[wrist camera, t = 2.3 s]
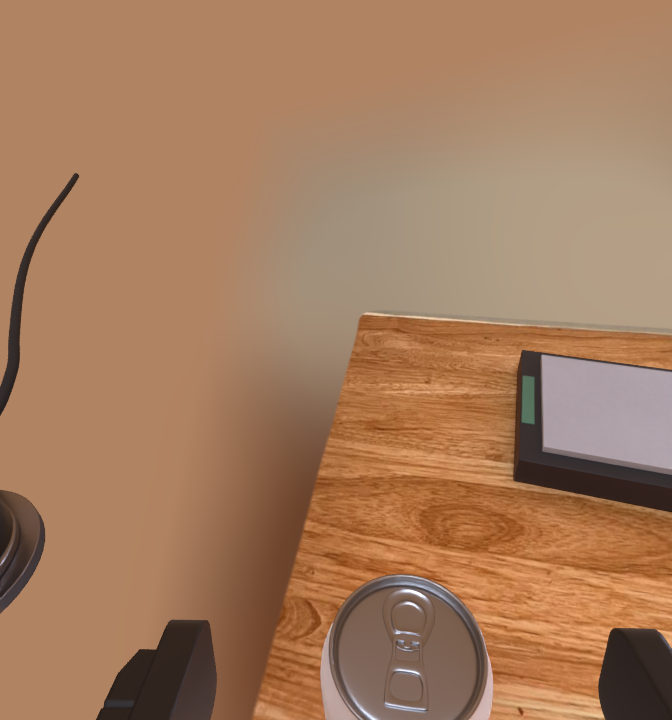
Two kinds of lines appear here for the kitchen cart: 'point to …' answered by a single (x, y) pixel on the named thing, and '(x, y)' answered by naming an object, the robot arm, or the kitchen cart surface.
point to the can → (405, 655)
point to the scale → (595, 428)
